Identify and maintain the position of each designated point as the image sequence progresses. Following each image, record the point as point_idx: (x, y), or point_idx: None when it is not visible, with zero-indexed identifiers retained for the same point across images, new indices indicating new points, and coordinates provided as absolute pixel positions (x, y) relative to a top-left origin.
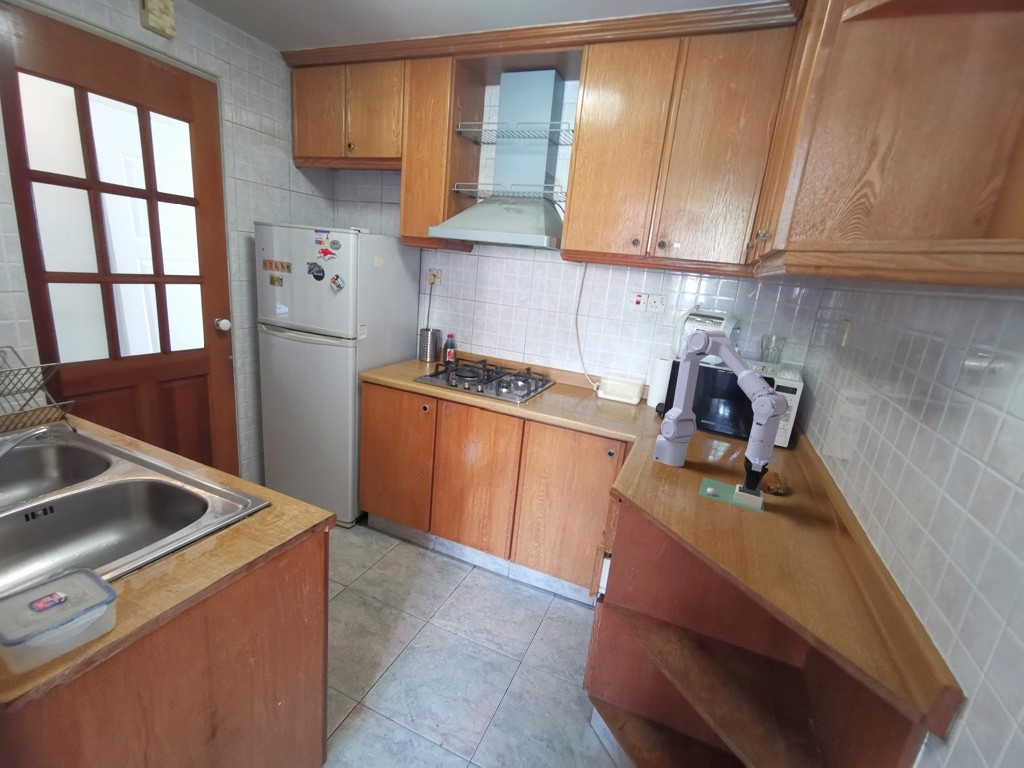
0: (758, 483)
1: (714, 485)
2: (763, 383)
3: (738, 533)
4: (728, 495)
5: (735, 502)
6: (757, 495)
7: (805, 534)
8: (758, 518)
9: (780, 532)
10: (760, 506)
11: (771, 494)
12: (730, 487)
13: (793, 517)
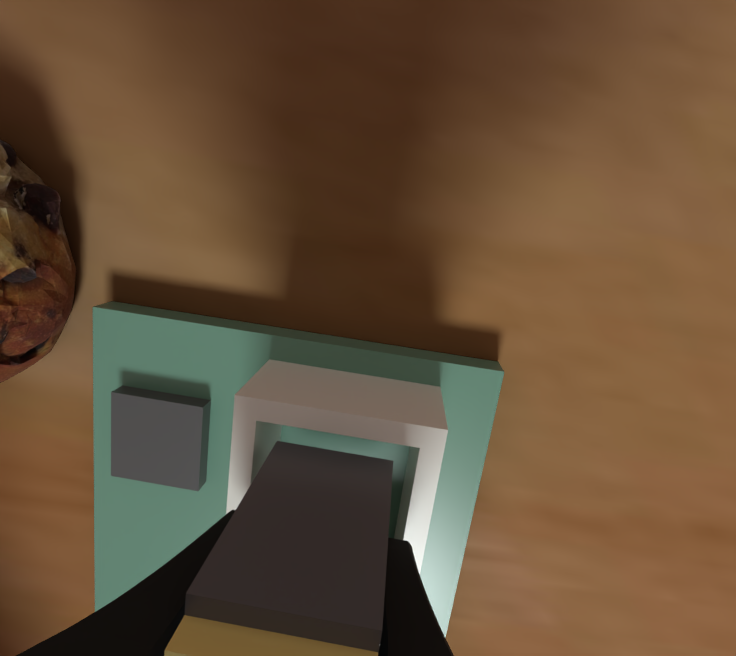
0: (433, 614)
1: None
2: None
3: None
4: None
5: None
6: (392, 470)
7: (666, 59)
8: (538, 396)
9: (714, 270)
10: (442, 401)
11: (60, 241)
12: (148, 544)
13: (370, 106)
